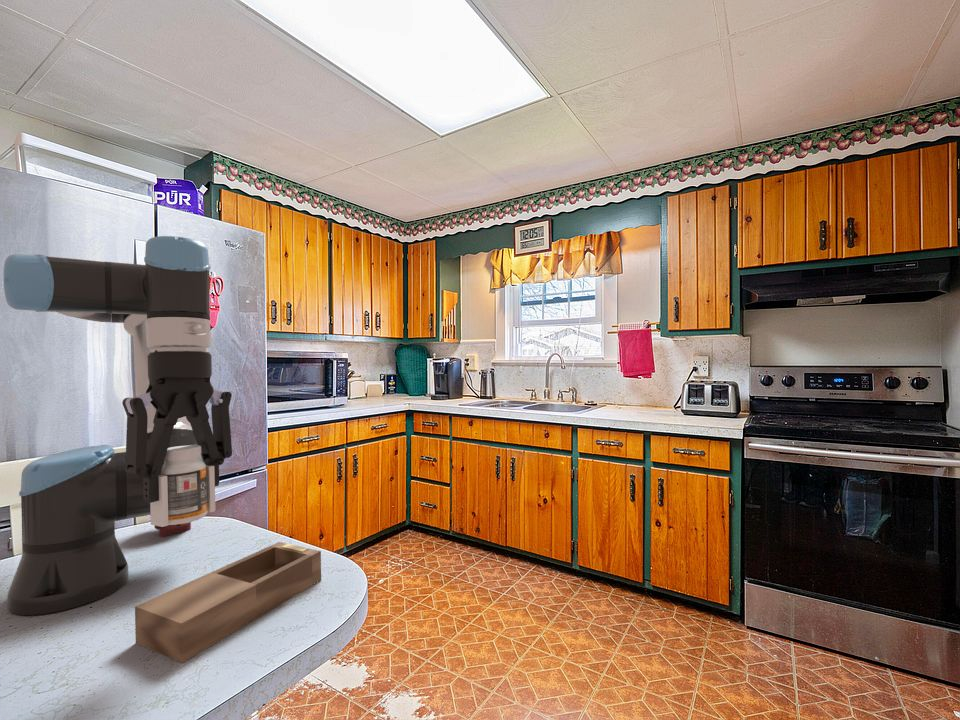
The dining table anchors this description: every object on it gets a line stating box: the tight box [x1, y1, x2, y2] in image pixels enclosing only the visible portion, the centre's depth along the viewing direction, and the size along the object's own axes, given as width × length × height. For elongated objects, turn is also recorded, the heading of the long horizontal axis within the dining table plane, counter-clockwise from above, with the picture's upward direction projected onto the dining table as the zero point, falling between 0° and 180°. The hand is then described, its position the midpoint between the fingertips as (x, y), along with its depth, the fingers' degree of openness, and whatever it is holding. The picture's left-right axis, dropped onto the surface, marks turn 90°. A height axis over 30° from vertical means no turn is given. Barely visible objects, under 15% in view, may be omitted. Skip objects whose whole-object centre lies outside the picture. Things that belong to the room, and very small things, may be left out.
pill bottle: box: [160, 445, 208, 525], centre depth 65 cm, size 6×6×10 cm
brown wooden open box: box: [134, 541, 322, 663], centre depth 73 cm, size 10×24×5 cm, turn 155°
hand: (184, 517), depth 65 cm, fingers closed on pill bottle, 6 cm apart
